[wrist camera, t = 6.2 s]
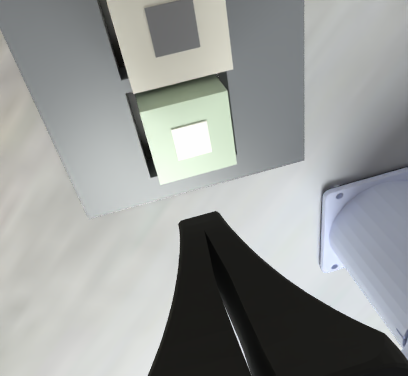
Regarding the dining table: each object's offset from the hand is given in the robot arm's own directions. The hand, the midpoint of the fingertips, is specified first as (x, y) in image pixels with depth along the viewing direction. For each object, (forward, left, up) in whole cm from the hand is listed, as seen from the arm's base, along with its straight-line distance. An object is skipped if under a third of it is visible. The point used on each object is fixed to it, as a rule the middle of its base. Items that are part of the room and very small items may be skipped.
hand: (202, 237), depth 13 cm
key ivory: (-1, -6, -7) cm, 9 cm away
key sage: (-1, -1, -9) cm, 9 cm away
